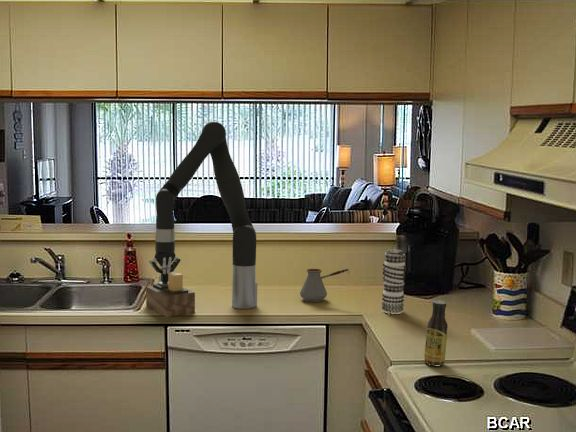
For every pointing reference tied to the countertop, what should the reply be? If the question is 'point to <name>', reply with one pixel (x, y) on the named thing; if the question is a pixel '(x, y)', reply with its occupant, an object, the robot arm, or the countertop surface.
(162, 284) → the grey metal peg
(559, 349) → the countertop surface
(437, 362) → the sauce bottle
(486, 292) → the countertop surface
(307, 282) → the coffee pot
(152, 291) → the walnut block
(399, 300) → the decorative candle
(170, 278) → the ochre peg
